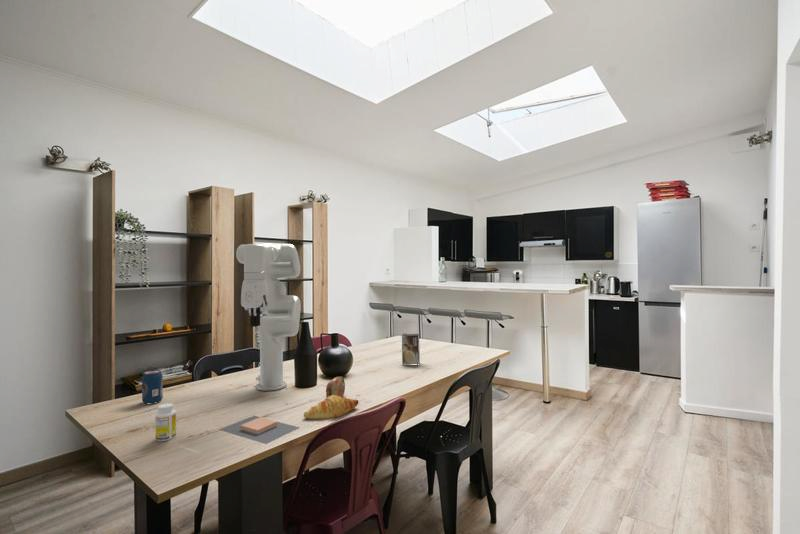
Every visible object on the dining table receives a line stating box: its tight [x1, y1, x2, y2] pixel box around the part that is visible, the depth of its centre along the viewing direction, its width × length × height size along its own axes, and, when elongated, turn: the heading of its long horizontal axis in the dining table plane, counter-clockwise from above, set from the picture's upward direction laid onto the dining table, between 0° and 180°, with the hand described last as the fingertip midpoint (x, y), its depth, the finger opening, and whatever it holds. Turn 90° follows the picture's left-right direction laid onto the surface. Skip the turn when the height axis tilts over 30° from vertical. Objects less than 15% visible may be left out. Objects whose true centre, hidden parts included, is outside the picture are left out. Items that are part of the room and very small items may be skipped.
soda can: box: [141, 369, 164, 405], centre depth 160 cm, size 7×7×12 cm
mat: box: [219, 415, 301, 445], centre depth 132 cm, size 22×14×1 cm, turn 60°
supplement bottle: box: [154, 402, 177, 442], centre depth 126 cm, size 6×6×10 cm
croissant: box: [303, 395, 359, 420], centre depth 146 cm, size 21×10×8 cm, turn 126°
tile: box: [241, 416, 278, 435], centre depth 132 cm, size 2×8×8 cm
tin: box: [325, 376, 346, 398], centre depth 161 cm, size 15×3×8 cm, turn 168°
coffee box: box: [401, 333, 421, 366], centre depth 219 cm, size 9×6×16 cm
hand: (255, 325), depth 152 cm, fingers closed
